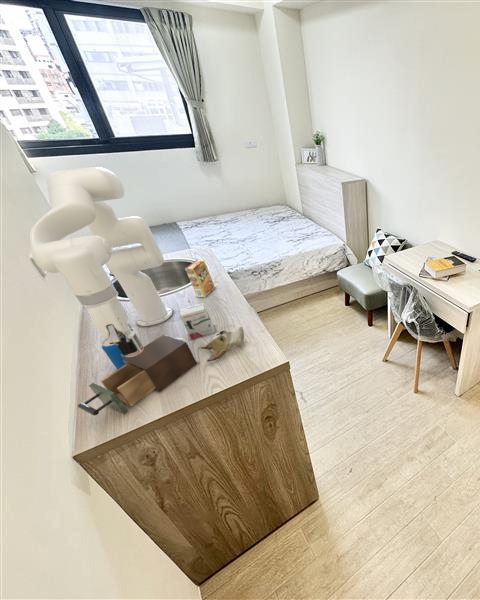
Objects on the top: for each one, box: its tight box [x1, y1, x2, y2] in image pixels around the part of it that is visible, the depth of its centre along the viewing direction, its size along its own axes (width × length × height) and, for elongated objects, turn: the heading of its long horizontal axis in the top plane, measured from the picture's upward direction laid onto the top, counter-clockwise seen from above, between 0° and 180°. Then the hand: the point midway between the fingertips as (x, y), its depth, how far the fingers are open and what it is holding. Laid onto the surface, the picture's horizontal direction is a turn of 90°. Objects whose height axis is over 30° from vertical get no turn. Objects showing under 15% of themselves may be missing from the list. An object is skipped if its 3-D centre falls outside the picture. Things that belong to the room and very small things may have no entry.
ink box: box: [178, 302, 216, 341], centre depth 123 cm, size 8×5×12 cm, turn 123°
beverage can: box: [101, 336, 127, 370], centre depth 107 cm, size 6×6×12 cm
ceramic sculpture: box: [200, 326, 245, 363], centre depth 115 cm, size 11×9×15 cm
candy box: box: [184, 259, 216, 298], centre depth 147 cm, size 9×4×15 cm, turn 178°
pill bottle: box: [118, 326, 144, 357], centre depth 90 cm, size 5×5×8 cm
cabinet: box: [123, 334, 198, 393], centre depth 105 cm, size 14×11×10 cm
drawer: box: [77, 363, 156, 416], centre depth 95 cm, size 17×10×8 cm, turn 158°
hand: (131, 346), depth 91 cm, fingers closed on pill bottle, 4 cm apart
